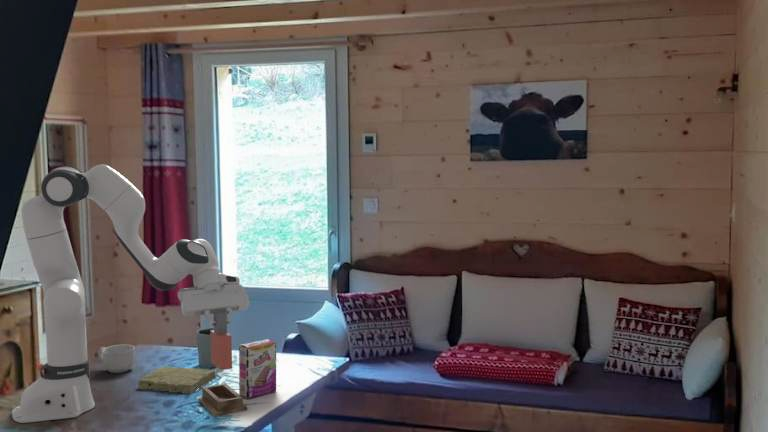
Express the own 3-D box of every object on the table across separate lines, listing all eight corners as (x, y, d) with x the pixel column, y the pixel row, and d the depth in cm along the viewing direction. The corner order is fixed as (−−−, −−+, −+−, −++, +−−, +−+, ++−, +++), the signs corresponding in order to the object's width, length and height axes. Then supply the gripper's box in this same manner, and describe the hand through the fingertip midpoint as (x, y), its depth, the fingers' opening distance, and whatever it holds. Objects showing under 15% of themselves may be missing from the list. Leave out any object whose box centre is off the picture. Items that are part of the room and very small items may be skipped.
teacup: (142, 369, 268) (141, 346, 267) (116, 377, 259) (115, 354, 258) (116, 363, 275) (115, 341, 275) (90, 370, 266) (89, 348, 265)
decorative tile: (162, 374, 263) (161, 364, 263) (216, 378, 259) (216, 367, 258) (133, 391, 245) (133, 381, 244) (191, 395, 241) (191, 384, 240)
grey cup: (199, 360, 278) (198, 328, 277) (227, 359, 279) (226, 327, 278) (195, 368, 268) (194, 334, 267) (224, 367, 269) (224, 334, 268)
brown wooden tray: (214, 416, 220) (214, 402, 220) (198, 400, 234) (197, 388, 234) (247, 410, 225) (247, 396, 225) (229, 395, 239) (229, 382, 239)
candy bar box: (248, 400, 235) (247, 347, 233) (238, 396, 238) (237, 344, 237) (277, 391, 242) (276, 340, 241) (268, 388, 246) (267, 338, 244)
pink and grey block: (220, 370, 224) (219, 316, 222) (211, 362, 232) (209, 310, 230) (232, 368, 226) (230, 315, 224) (222, 361, 233) (220, 309, 232)
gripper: (177, 283, 227) (188, 322, 220) (243, 276, 237) (255, 313, 230) (174, 295, 231) (184, 334, 224) (239, 288, 242) (250, 325, 234)
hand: (221, 323), depth 227 cm, fingers closed on pink and grey block, 3 cm apart
